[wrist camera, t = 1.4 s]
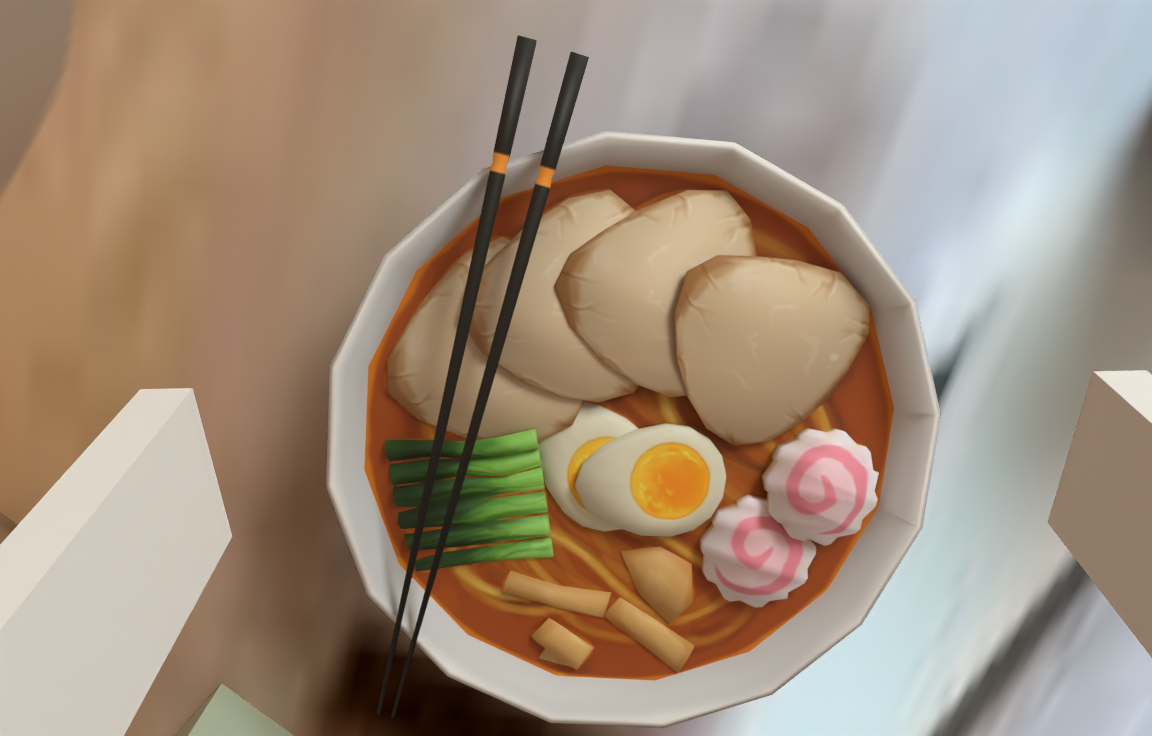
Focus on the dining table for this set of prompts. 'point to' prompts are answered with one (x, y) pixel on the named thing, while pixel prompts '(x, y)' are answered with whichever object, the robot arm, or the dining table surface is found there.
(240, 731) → the sage block
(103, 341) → the dining table surface
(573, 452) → the ramen bowl
